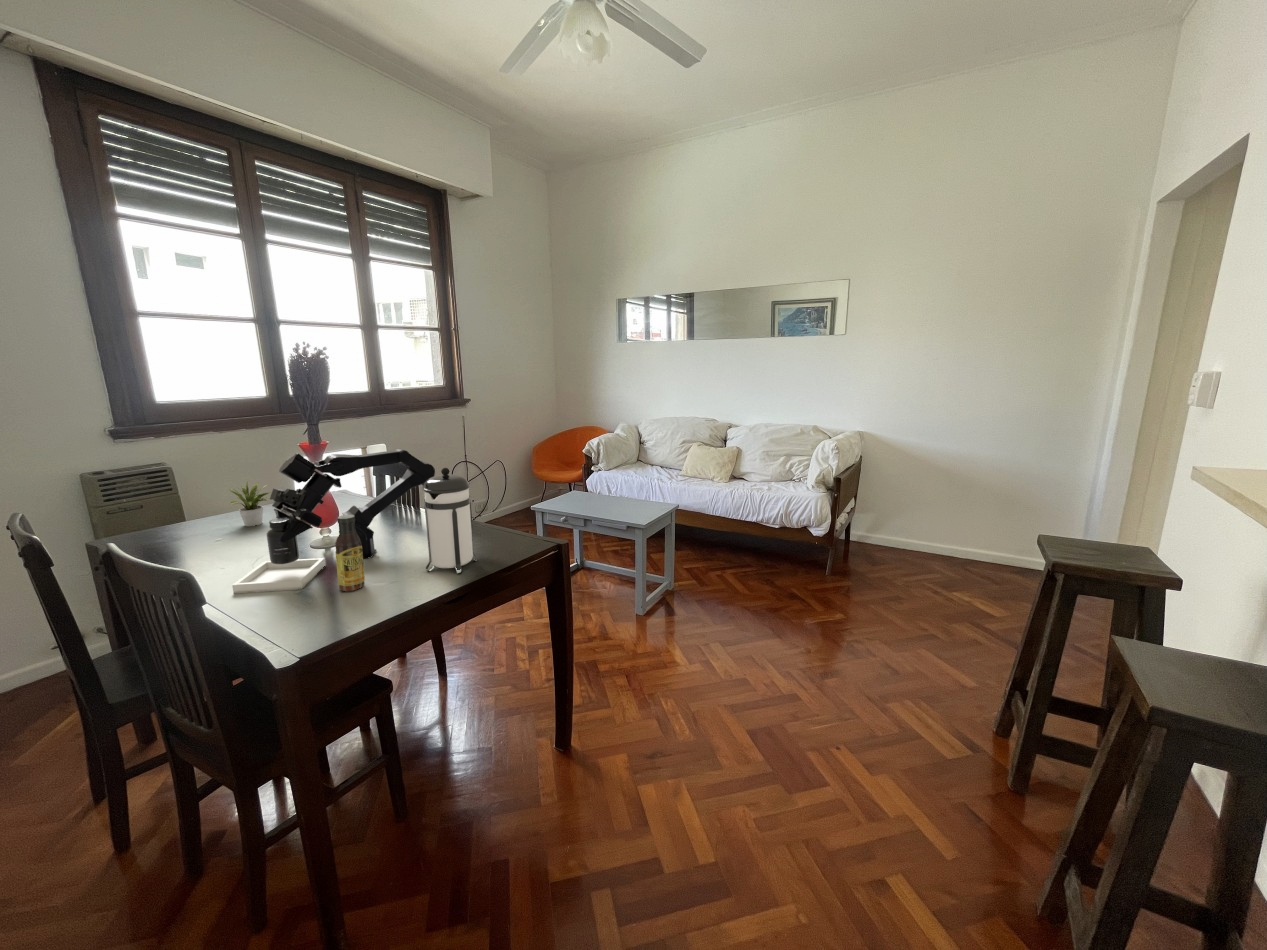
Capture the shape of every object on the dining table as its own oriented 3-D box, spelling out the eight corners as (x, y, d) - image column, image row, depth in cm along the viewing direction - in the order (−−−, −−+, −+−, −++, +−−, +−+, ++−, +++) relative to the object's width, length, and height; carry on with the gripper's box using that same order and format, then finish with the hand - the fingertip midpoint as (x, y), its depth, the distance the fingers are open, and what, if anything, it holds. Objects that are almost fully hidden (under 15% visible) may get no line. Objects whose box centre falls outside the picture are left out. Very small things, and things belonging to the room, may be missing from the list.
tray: (325, 565, 149) (324, 557, 148) (301, 589, 133) (300, 580, 133) (265, 569, 146) (264, 561, 145) (233, 593, 130) (232, 584, 130)
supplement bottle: (279, 567, 136) (272, 525, 134) (265, 561, 140) (258, 521, 137) (305, 558, 142) (299, 518, 139) (291, 553, 146) (285, 514, 143)
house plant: (236, 534, 175) (228, 488, 171) (218, 527, 182) (210, 483, 178) (281, 523, 187) (275, 480, 183) (263, 517, 194) (256, 476, 190)
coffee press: (488, 569, 147) (482, 469, 141) (430, 580, 139) (421, 475, 133) (473, 550, 162) (467, 459, 155) (420, 559, 154) (411, 464, 147)
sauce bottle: (347, 594, 130) (337, 522, 126) (334, 589, 134) (324, 518, 129) (371, 585, 136) (363, 515, 131) (358, 580, 139) (350, 511, 135)
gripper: (274, 472, 144) (235, 518, 138) (302, 481, 133) (261, 532, 127) (308, 492, 152) (273, 537, 146) (338, 502, 141) (301, 551, 135)
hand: (276, 539), depth 138 cm, fingers closed on supplement bottle, 7 cm apart
